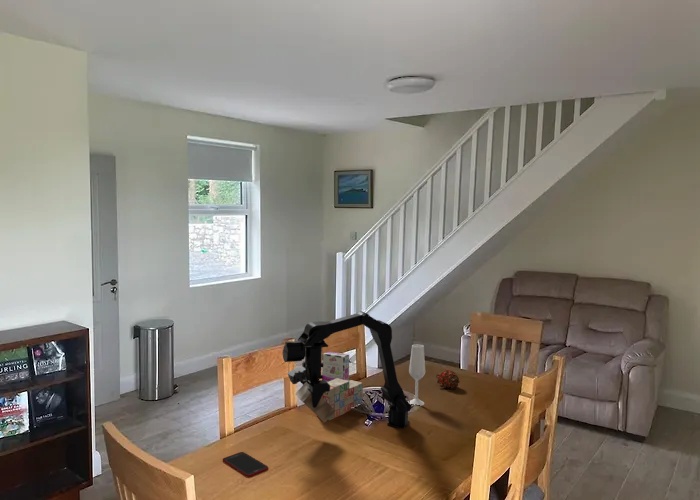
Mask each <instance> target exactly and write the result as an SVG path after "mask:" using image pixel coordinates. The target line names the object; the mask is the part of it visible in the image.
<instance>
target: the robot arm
mask: <svg viewBox="0 0 700 500" xmlns="http://www.w3.org/2000/svg"><path fill="white" fill-rule="evenodd" d="M362 325H363V326H364V327H366V328H367V329H369V331H370V334H371V337H372V339H373V341H374V343H375V344H376V346H377V350H378V354H379V359H380V363H381V370H382V373H383V379H384V384H383V386H380V391H381V394H382V395H381V397H382V398H383V399H384V401H386V402H387V404H388V406H389V410H387V412H388V413H387V415H388V416H387V422H388V423H387V425H388V426H390V427H396V428H399V429H405V428H406V427H407V426H408V425H409V424H410V423H411V422H410V420H409V412H410V411H411V408H412V405H411V404H410V403H409V401H408V400H407V399H406V395H405V393H404V389H403V388H402V386H401V385H400V383H399V380H398V377H397V372H396V367H395V362H394V356H393V352H392V347H391V343H392V340H393V329H392V326H391V325H390V324H388V323H387V322H385V321H382V320H381V319H380V320H379V319H376V318H374V317H372V316H371V315H370V314H369V313H367V312H364V311H359V312H357V313H353V314H349V315H346V316H342V317H339V318H336V319H332V320H328V321H327V320H326V321H325V320H324V321H319V320H318V321H310V322H307V324H306V325H305V327H304V329H303V332H302V333H301V334H300V336H299V337H298V338H297V341H295V340H294V341H293V340H292V341H290V340H288V341H287V340H286V341H285V342H284V346H283V349H282V357H283V358H282V359H283V361H284V363H291V362H302V363H301V366H299V367H296V368H294V369H292V370H290V371H289V370H288V372H287V375H288V379H289V381H290V382H291V383H292V385H296V384H298V383H301V384H302V386H303V385H304V384H305V383H306V382H307V383H308V384H309V389H308V390H309V391H310V392H311V395H312V404H313V408H315V407H317V405H318V403H319V401H320V399H321V397H322V395H323V394H324V392H329V391H330V385H329V384H328V383H327V382H326V381H325V380H322V379H323V375H322V367H323V363H322V354H323V348H328V347H329V344H327V342H326V341H325V340H326V339H328V338H329V337H330V336H331V335H333V334H336V333H339V332H342V331H345V330H349V329H352V328H357V327H358V326H362ZM303 360H304V361H303Z"/></svg>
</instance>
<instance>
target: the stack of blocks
mask: <svg viewBox="0 0 700 500" xmlns="http://www.w3.org/2000/svg"><path fill="white" fill-rule="evenodd" d="M327 383H328V384H329V385H330V391H329V392H324V394H323V395H322V398H323V399H324V400H325V401H326V402H327V403H328V404H329V405H330V406H331V407H332V408H333V409H335V410H336V411H335V412H334V413H333V414H332V415H331V416H330V417H329V418H328V420H327V421H331V420H333V419H337V418H338V417H340V416H342V415H344V414H346V413H348V412H350V411H352V410H351V407H354V406H356V405H358V404H361V403H363V402H364V401H363V397H364V394H363V391H364V390H363V387H364V386H363V382H360V381H356V380H352V379H349V381H347V380H343V379H339V378H336V379H334V380H331V381H329V382H327ZM316 417H318V416H317V415H316ZM318 418H319V417H318Z"/></svg>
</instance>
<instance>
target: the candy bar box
mask: <svg viewBox="0 0 700 500" xmlns="http://www.w3.org/2000/svg"><path fill="white" fill-rule="evenodd" d="M322 363H323V367H321V375H323V379H321V380H325V381H326V382H329V381H331V380H334V379H336V378H339V379H343V380H347V381H349V380H350V354H347V353H340V352H334V351H333V352H332V351H325V352H324V353H323V352H322Z"/></svg>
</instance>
